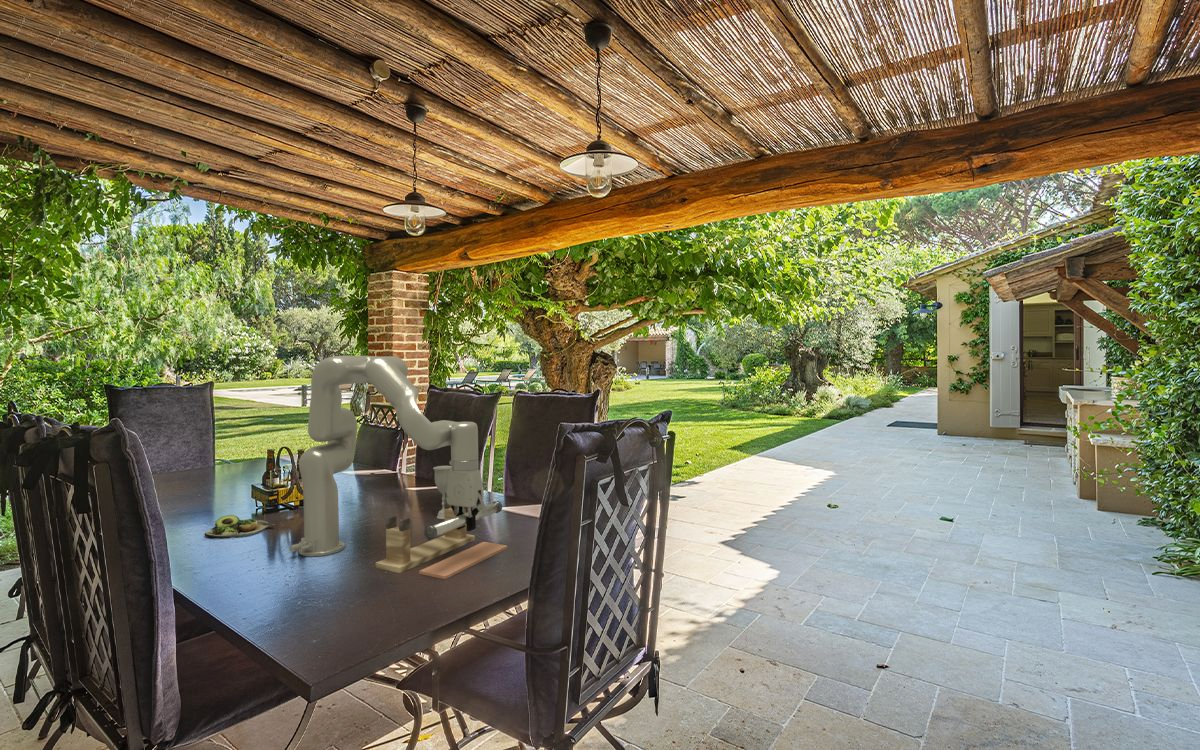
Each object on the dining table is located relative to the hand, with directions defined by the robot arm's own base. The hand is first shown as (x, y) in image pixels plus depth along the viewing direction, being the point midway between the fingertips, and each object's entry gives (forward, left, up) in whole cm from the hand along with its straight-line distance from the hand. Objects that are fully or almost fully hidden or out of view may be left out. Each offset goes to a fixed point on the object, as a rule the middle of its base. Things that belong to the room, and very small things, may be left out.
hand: (466, 528), depth 172 cm
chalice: (+33, +37, -9) cm, 50 cm away
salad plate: (-11, +88, -10) cm, 89 cm away
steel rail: (0, 0, +3) cm, 3 cm away
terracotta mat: (0, 0, -9) cm, 9 cm away
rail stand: (0, +14, -9) cm, 17 cm away
